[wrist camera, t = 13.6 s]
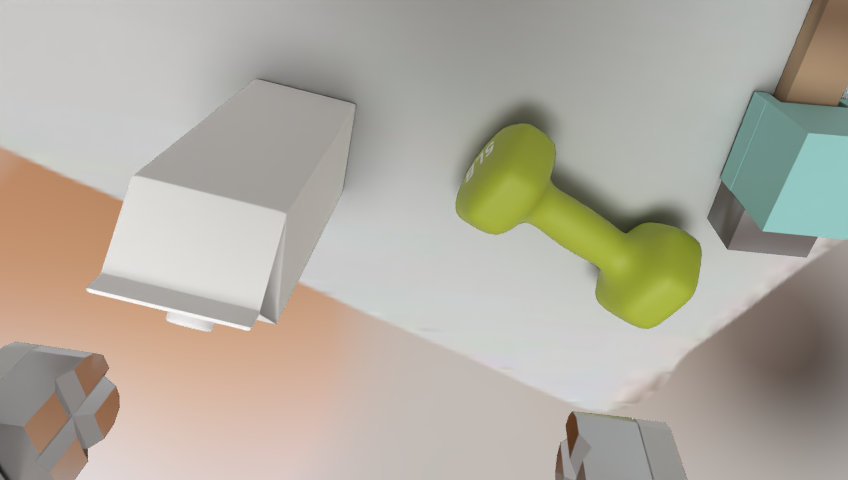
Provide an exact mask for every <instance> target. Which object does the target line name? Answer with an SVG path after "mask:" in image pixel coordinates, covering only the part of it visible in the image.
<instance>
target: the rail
mask: <svg viewBox="0 0 848 480" xmlns="http://www.w3.org/2000/svg"><path fill="white" fill-rule="evenodd" d="M847 85H848V0H813V2H812V4H811V7H810V9H809V11H808V14H807V16H806V19H805V21H804V23H803V26H802V28H801V31H800V33H799V35H798V38H797V40H796V43H795V45H794V47H793V50H792V52H791V55H790V57H789V59H788V62H787V64H786V67H785V69H784V71H783V74H782V76H781V79H780V81H779V83H778V86H777V88H776V91H775V93H774V95H773V97H774V98H776V99H777V100H778V101H780V102H785V103H796V104H808V105H820V106H832V107H837V105H838V103H839V101H840V99H841V97H842V95H843V93H844V91H845V89H846V87H847ZM707 219H708V220H709V222H710V223H711V225H712V226H713V228H714V229H715V231H716V233H717V234H718V236H719V237H720V239H721V240H722V242H723V243H724V245H725V246H726V248H727V249H728V250H737V251H747V252H757V253H767V254H777V255H787V256H797V257H807V256H808V254H809V252H810V250H811V248H812V247H813V245H814V243H815V241H816V239H817V237H816V236H806V235H795V234H785V233H775V232H765V231H762V230H761V229H760V228H759V226H758V225H757V224H756V223H755V221H754V220H753V219H752V217H751V216H750V215H749V214H748V212H747V211H746V210H745V208H744V207H743V206H742V205H741V203H740V202H739V201H738V199H737V198H736V197H735V196H734V194H733V193H732V192H731V191H730V190H729V189H728V188H727V186H726V185H725V184H724V182H723V181H722V183H721V185H720V188H719V190H718V193H717V195H716V198H715V201H714V203H713V206H712V208H711V211H710V213H709V216H708V218H707Z"/></svg>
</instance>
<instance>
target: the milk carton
mask: <svg viewBox="0 0 848 480" xmlns="http://www.w3.org/2000/svg"><path fill="white" fill-rule="evenodd" d="M355 108H356V106H355V104H353V103H349V102H346V101H342V100H338V99H334V98H330V97H326V96H322V95H318V94H314V93H310V92H307V91H303V90H299V89H295V88H291V87H287V86H283V85H279V84H275V83H271V82H267V81H263V80H259V79H255V80H253V81H252V82H251V83H249V84H248V85H247V86H246V87H244V88H243V89H242V90H241V91H239V92H238V93H237V94H236V95H234V96H233V97H232V98H231V99H229V100H228V101H227V102H226V103H224V104H223V105H222V106H220V107H219V108H218V109H217V110H215V111H214V112H213V113H212V114H210V115H209V116H208V117H207V118H205V119H204V120H203V121H202V122H200V123H199V124H198V125H197V126H195V127H194V128H193V129H191V130H190V131H189V132H188V133H186V134H185V135H184V136H183V137H181V138H180V139H179V140H178V141H176V142H175V143H174V144H173V145H171V146H170V147H169V148H168V149H166V150H165V151H164V152H163V153H161V154H160V155H159V156H157V157H156V158H155V159H154V160H152V161H151V162H150V163H149V164H147V165H146V166H145V167H144V168H142V169H141V170H140V171H139V172H137V173H136V174H135V175H133V176H132V177H131V181H130V184H129V187H128V190H127V193H126V196H125V199H124V202H123V206H122V209H121V212H120V215H119V218H118V221H117V225H116V227H115V231H114V234H113V237H112V240H111V243H110V246H109V250H108V252H107V256H106V259H105V262H104V265H103V268H102V272H101V274H100V275H99V276H98V277H97V278H95V279H94V280H93V281H92V283H90V284H89V285H88V286H87V287H86V290H87V291H88V292H90V293H94V294H98V295H103V296H107V297H110V298H115V299H119V300H123V301H127V302H131V303H136V304H139V305H144V306H148V307H152V308H156V309H160V310H164V311H168V314H167V316H166V320H167V321H168V322H171V323H174V324H178V325H182V326H186V327H189V328H193V329H198V330H202V331H208V332H209V331H212V329H213V326H214V324H215V323H218V324H223V325H227V326H231V327H235V328H239V329H244V330H251V328H252V327H253V325H254V323H255V321H256V320H260V321H264V322H268V323H273V324H277V322H278V320H279V318H280V316H281V314H282V312H283V310H284V308H285V306H286V304H287V302H288V300H289V298H290V296H291V294H292V292H293V290H294V288H295V286H296V284H297V282H298V280H299V278H300V276H301V274H302V272H303V270H304V268H305V266H306V264H307V262H308V260H309V258H310V256H311V254H312V252H313V250H314V248H315V246H316V244H317V242H318V240H319V238H320V236H321V234H322V232H323V230H324V228H325V226H326V224H327V222H328V220H329V218H330V216H331V214H332V212H333V210H334V208H335V206H336V204H337V202H338V200H339V198H340V196H341V194H342V192H343V185H344V179H345V172H346V166H347V160H348V153H349V147H350V140H351V134H352V128H353V121H354V115H355Z"/></svg>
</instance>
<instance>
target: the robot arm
mask: <svg viewBox="0 0 848 480" xmlns="http://www.w3.org/2000/svg"><path fill="white" fill-rule="evenodd" d="M108 369H109V367H108V364H107V362H106V360H105V358H104V356H103V355H101V354H96V353H90V352H84V351H77V350H70V349H64V348H57V347H51V346H44V345H35V344H29V343H21V342H14V343H11V344H8V345H6V346H3V347H2V348H1V349H0V480H75V479H76V477H77V476H78V474H79V473H80V472H81V470H82V469H83V467H84V466H85V465H86V463H87V462H88V448H90V447H91V446H93V445H95V444H96V443H98V442H99V441H101V440H103V439H104V438H105V437H106V435H107V434H108V432H109V431H110V429H111V428H112V426H113V425H114V423H115V419H116V417H117V413H118V411H119V408H120V404H119V393H118V390H117V387H116V386H115V385H114V384H113V383H112V382H111V381H110V380H108V379H107V378H106V377H105V374H106V372H107V371H108ZM566 432H567V439H565V440H564V441H562V442H560V446H559V450H558V454H557V461H556V470H555V477H556V480H687V477H686V474H685V471H684V468H683V465H682V462H681V459H680V456H679V453H678V450H677V447H676V444H675V441H674V438H673V435H672V432H671V429H670V427H669V426H668V425H667V424H666V423H665V422H658V421H648V420H640V419H632V418H629V417H620V416H611V415H602V414H593V413H584V412H575V411H572V412H571V414H570V415H569V417H568V420H567V423H566Z"/></svg>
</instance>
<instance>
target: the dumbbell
mask: <svg viewBox="0 0 848 480" xmlns="http://www.w3.org/2000/svg"><path fill="white" fill-rule="evenodd" d="M555 156H556V152H555V145H554V143H553V142H552V140H551V139H550V138H549V137H548V136H547V135H546V134H545V133H543V132H542V131H540V130H539V129H537V128H536V127H535V126H533V125H530V124H525V123H521V124H515V125H510V126H507V127H505V128H503V129H502V130H501V131H499V132H498V133H497V134H496V135H495V136H494V137H493V138H492V139H491V140H490V141H489V142H488V143H487V144H486V145H485V147H484V148H483V149H482V150H481V152H480V153H479V154H478V156H477V157H476V158H475V160H474V161H473V163H472V164H471V166H470V167H469V169H468V171H467V173H466V176H465V178H464V180H463V183H462V185H461V187H460V189H459V192H458V195H457V199H456V212H457V214H458V216H459V217H460V218H461V219H463V220H464V221H465V222H467V223H469V224H470V225H472V226H473V227H475V228H477V229H479V230H481V231H483V232H486V233H489V234H495V235H498V234H502V233H505V232H507V231H509V230H511V229H512V228H514V227H515V226H517V225H518V224H520V223H523V222H524V223H530V224H532V225H534V226H536V227H537V228H538V229H540V230H541V231H542V232H544V233H545V234H546V235H548V236H549V237H550V238H552V239H553V240H555V241H556V242H557V243H559V244H560V245H561V246H563V247H564V248H566V249H568V250H569V251H571V252H573V253H575V254H576V255H578V256H580V257H582V258H584V259H586V260H587V261H589V262H591V263H593V264H594V265H596V266H597V267H598V268H600V271H599V275H598V280H597V285H596V291H595V294H596V299H597V301H598V302H599V303H600V304H601V305H602V306H603V307H604V308H605V309H606V310H608V311H609V312H611V313H612V314H614V315H615V316H617V317H619V318H620V319H622V320H624V321H626V322H628V323H630V324H632V325H634V326H636V327H639V328H643V329H649V328H652V327H655V326H657V325H658V324H660V323H661V322H663V321H664V320H666V319H667V318H668V317H669V316H671V315H672V314H673V313H674V312H676V311H677V310H678V309H680V308H681V307H682V306H683V305H684V304H686V303H687V302H688V301H689V300H690V298H691V297H692V296H693V294H694V292H695V290H696V287H697V283H698V278H699V272H700V266H701V256H702V250H701V246H700V243H699V242H698V241H697V240H696V239H695V238H694V237H692V236H691V235H689V234H688V233H686V232H685V231H683V230H681V229H679V228H676V227H673V226H670V225H666V224H661V223H652V222H649V223H643V224H640V225H638V226H636V227H635V228H633V229H632V230H630V231H629V232H628V233H624V232H622V231H620V230H619V229H618V228H616V227H615V226H614V225H613V224H611V223H610V222H609V221H607V220H606V219H604V218H603V217H602V216H600V215H599V214H597V213H596V212H595V211H593V210H592V209H590V208H589V207H587V206H586V205H584V204H582V203H581V202H579V201H578V200H576V199H574V198H573V197H571V196H569V195H568V194H566V193H564V192H562V191H561V190H559V189H558V188H557V187H555V186H554V184H553V183H552V181H551V178H550V177H551V174H552V171H553V167H554V163H555Z"/></svg>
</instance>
